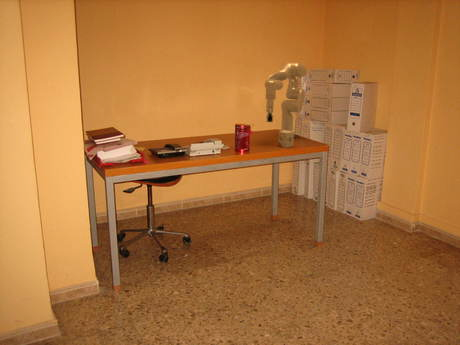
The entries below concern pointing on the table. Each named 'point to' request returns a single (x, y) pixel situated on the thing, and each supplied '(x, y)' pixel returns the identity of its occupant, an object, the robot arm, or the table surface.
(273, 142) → the table surface
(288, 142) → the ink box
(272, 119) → the sage block
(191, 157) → the table surface
